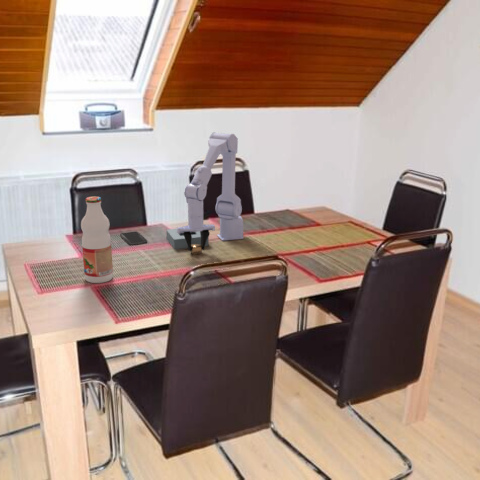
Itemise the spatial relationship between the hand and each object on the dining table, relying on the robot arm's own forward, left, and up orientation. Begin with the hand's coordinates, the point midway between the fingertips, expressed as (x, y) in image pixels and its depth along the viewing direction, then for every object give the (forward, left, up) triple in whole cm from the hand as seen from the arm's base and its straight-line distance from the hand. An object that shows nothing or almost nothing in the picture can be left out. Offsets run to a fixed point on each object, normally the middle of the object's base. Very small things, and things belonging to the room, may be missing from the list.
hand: (196, 249), depth 213 cm
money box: (0, -14, -1) cm, 14 cm away
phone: (+20, -25, -2) cm, 32 cm away
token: (0, 0, -2) cm, 2 cm away
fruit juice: (+38, +15, -2) cm, 41 cm away
